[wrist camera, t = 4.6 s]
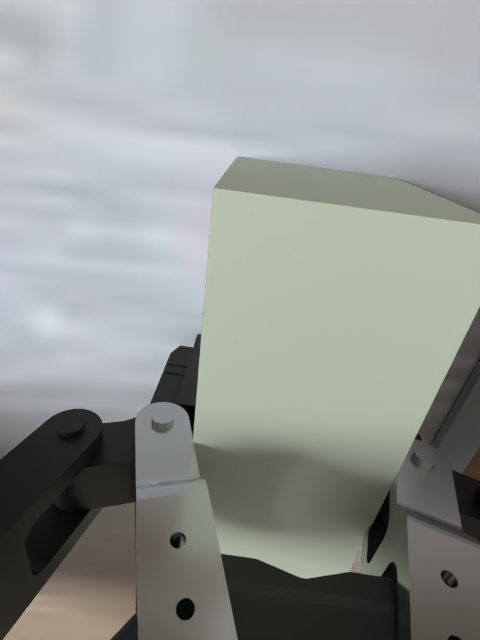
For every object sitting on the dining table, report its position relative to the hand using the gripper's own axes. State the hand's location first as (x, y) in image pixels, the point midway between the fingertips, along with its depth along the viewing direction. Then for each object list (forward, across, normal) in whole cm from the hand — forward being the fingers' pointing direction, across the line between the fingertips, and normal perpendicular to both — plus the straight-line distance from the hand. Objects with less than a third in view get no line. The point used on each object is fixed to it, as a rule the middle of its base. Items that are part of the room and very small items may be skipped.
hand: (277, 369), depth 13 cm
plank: (+1, 0, 0) cm, 1 cm away
